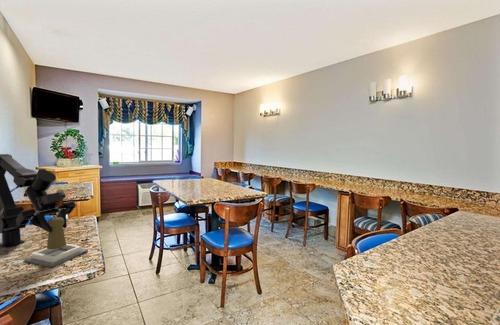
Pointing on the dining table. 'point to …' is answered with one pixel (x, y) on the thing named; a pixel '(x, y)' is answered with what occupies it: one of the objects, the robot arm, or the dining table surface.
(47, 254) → the grey square tray
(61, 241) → the olive tapered shaker
